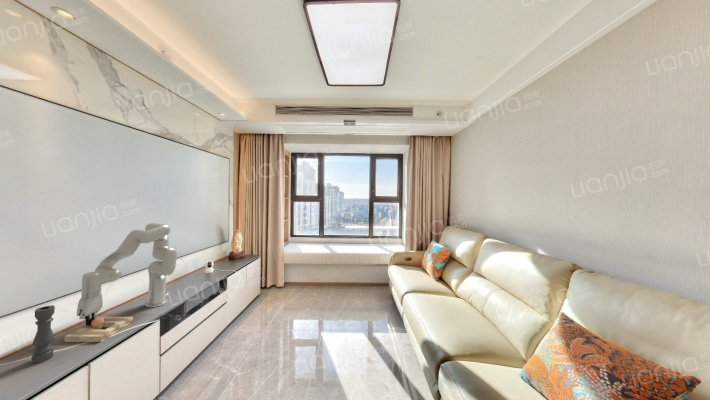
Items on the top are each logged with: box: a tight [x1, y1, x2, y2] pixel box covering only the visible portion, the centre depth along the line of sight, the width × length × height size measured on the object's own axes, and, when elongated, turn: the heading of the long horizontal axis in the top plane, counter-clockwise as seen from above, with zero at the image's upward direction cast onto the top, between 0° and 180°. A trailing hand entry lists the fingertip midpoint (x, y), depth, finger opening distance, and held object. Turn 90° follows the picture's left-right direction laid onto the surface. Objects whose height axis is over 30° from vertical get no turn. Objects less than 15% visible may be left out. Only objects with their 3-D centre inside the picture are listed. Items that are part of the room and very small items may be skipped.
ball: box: [91, 316, 104, 327], centre depth 133 cm, size 5×5×5 cm
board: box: [64, 316, 134, 343], centre depth 134 cm, size 20×18×3 cm
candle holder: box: [31, 305, 56, 365], centre depth 110 cm, size 6×6×25 cm
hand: (89, 324), depth 133 cm, fingers closed
